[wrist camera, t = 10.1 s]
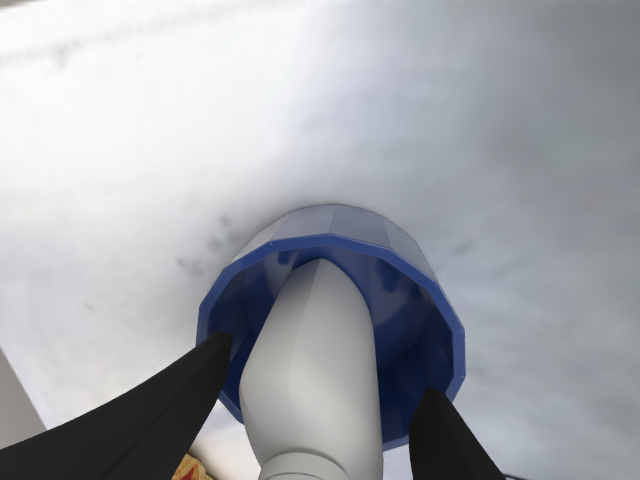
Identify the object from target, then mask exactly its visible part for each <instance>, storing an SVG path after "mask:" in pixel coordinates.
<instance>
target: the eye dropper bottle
mask: <svg viewBox="0 0 640 480" xmlns="http://www.w3.org/2000/svg"><path fill="white" fill-rule="evenodd" d="M239 397H240V406H241V412H242V417H243V421H244V425H245V429H246V433H247V436H248V439H249V442H250V444H251V447H252V449H253V452H254V454H255V456H256V459H257V461H258V463H259V465H260V466H261V468H262V469H261V471H260V474H259V478H258V480H382V479H383V446H382V430H381V417H380V404H379V391H378V379H377V366H376V354H375V342H374V331H373V325H372V320H371V316H370V312H369V309H368V307H367V304H366V302H365V300H364V298H363V296H362V294H361V293H360V291H359V289H358V288H357V287H356V285H355V284H354V283H353V281H352V280H351V279H350V278H349V277H348V276H347V275H346V274H345V273H344V272H343V271H342V270H341V269H340V268H339V267H337V266H336V265H335V264H333V263H332V262H330V261H329V260H327V259H323V258H319V259H314V260H312V261H310V262H308V263H306V264H304V265H302V266H300V267H298V268H296V269H294V270H292V271H291V272H290V273H289V274H288V276H287V278H286V280H285V282H284V284H283V286H282V288H281V290H280V292H279V294H278V297H277V299H276V301H275V303H274V305H273V307H272V309H271V311H270V313H269V315H268V317H267V319H266V322H265V324H264V326H263V328H262V330H261V332H260V334H259V336H258V338H257V341H256V343H255V345H254V347H253V349H252V351H251V354H250V356H249V358H248V361H247V363H246V365H245V367H244V370H243V373H242V377H241V381H240V385H239Z"/></svg>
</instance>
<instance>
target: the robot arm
mask: <svg viewBox="0 0 640 480" xmlns="http://www.w3.org/2000/svg"><path fill="white" fill-rule="evenodd" d="M232 342H233V335H231V334H228V333H224V332H220V331H216V332H215V333H213V334H212V335H211V336H209V337H208V338H207V339H205V340H204V341H203V342H201V343H200V344H199V345H197V346H196V347H195V348H193V349H192V350H191V351H189V352H188V353H187V354H185V355H184V356H182V357H181V358H179V359H178V360H177V361H175V362H174V363H172V364H171V365H169V366H168V367H166V368H165V369H163V370H162V371H160V372H159V373H157V374H156V375H154V376H152V377H151V378H149V379H148V380H146V381H144V382H143V383H141V384H140V385H138V386H136V387H134V388H133V389H131V390H129V391H128V392H126V393H124V394H122V395H120V396H119V397H117V398H115V399H113V400H111V401H109V402H107V403H106V404H104V405H102V406H100V407H98V408H96V409H94V410H91V411H89V412H87V413H85V414H83V415H81V416H79V417H77V418H75V419H73V420H71V421H69V422H66V423H64V424H62V425H60V426H57V427H55V428H53V429H50V430H48V431H46V432H43V433H41V434H38V435H36V436H34V437H31V438H29V439H26V440H24V441H21V442H19V443H16V444H14V445H11V446H8V447H6V448H3V449H1V450H0V480H171V479H172V478H173V476H174V474H175V472H176V470H177V468H178V467H179V465H180V463H181V462H182V460H183V458H184V457H185V455H186V453H187V451H188V450H189V448H190V446H191V445H192V443H193V441H194V440H195V438H196V436H197V434H198V433H199V431H200V429H201V428H202V426H203V424H204V423H205V421H206V419H207V417H208V416H209V414H210V412H211V410H212V409H213V407H214V405H215V403H216V401H217V399H218V397H219V395H220V392H221V390H222V388H223V386H224V383H225V381H226V379H227V375H228V368H229V362H230V355H231V349H232ZM408 437H409V453H410V462H411V468H412V474H413V480H515V479H512V478H507V477H504V475H503V474H502V473H501V472H500V470H499V469H498V468H497V466H496V465H495V464H494V462H493V461H492V460H491V458H490V457H489V456H488V454H487V453H486V451H485V450H484V449H483V447H482V446H481V445H480V443H479V442H478V440H477V439H476V438H475V436H474V435H473V433H472V432H471V430H470V429H469V428H468V426H467V425H466V423H465V422H464V420H463V419H462V417H461V416H460V415H459V413H458V412H457V410H456V409H455V407H454V406H453V404H452V403H451V402H450V400H449V399H448V397H447V396H446V394H445V393H444V392H443V391H440V390H436V389H432V388H429V387H426V389H425V391H424V393H423V395H422V398H421V400H420V402H419V404H418V406H417V408H416V411H415V413H414V415H413V417H412V419H411V422H410V424H409V426H408Z"/></svg>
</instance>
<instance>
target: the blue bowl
mask: <svg viewBox="0 0 640 480" xmlns="http://www.w3.org/2000/svg"><path fill="white" fill-rule="evenodd" d="M319 258H323V259H327V260H329V261H330V262H332V263H333V264H335V265H336V266H337V267H339V268H340V269H341V270H342V271H343V272H344V273H345V274H346V275H347V276H348V277H349V278H350V279H351V280H352V281H353V283H354V284H355V285H356V287H357V288H358V289H359V291H360V293H361V294H362V296H363V298H364V300H365V302H366V304H367V307H368V309H369V312H370V316H371V320H372V325H373V331H374V342H375V354H376V366H377V379H378V391H379V404H380V417H381V430H382V446H383V452H384V451H387V450H391V449H394V448H397V447H400V446H403V445H407V444H409V437H408V426H409V424H410V422H411V419H412V417H413V415H414V413H415V411H416V408H417V406H418V404H419V402H420V400H421V398H422V395H423V393H424V391H425V389H426V387H429V388H432V389H436V390H440V391H443V392H444V393H445V394H446V396H447V397H448V399H449V400H450V402H451V403H452V402H453V401H454V399H455V397H456V395H457V393H458V391H459V389H460V387H461V385H462V383H463V381H464V379H465V376H466V362H465V330H464V327H463V325H462V323H461V321H460V320H459V318H458V316H457V314H456V312H455V310H454V309H453V307H452V305H451V303H450V301H449V299H448V298H447V296H446V294H445V292H444V290H443V289H442V287H441V285H440V283H439V281H438V279H437V278H436V276H435V274H434V272H433V270H432V269H431V267H430V265H429V263H428V261H427V260H426V258H425V256H424V254H423V253H422V251H421V249H420V247H419V245H418V244H417V243H416V241H414V240H413V239H412V238H411V237H410V236H409V235H408V234H407V233H406V232H404V231H403V230H402V229H401V228H400V227H399V226H397V225H396V224H394V223H393V222H391V221H390V220H388V219H386V218H385V217H382V216H380V215H378V214H376V213H374V212H371V211H368V210H365V209H362V208H358V207H353V206H347V205H334V204H329V205H316V206H312V207H307V208H302V209H300V210H297V211H294V212H291V213H289V214H287V215H285V216H283V217H281V218H279V219H278V220H276V221H275V222H274V223H272V224H271V225H269V226H268V227H267V228H265V229H264V230H262V231H260V232H259V233H258V234H257V235H256V236H255V237H254V238H253V239H252V240H251V241H250V242H249V243H248V244H247V245H246V246H245V247H244V248H243V249H242V250H241V251H240V252H239V253H238V254H237V255H236V256H235V257H234V258H233V259H232V260H231V261H230V262H229V263H228V264H227V266H226V267H225V268H224V269H223V270H222V272H221V273H220V275H219V276H218V278H217V280H216V281H215V283H214V284H213V286H212V287H211V289H210V290H209V292H208V293H207V295H206V296H205V298H204V299H203V301H202V302H201V304H200V307H199V315H198V326H197V336H196V346H197V345H199V344H200V343H201V342H203V341H204V340H205V339H207V338H208V337H209V336H211V335H212V334H213V333H215V332H216V331H220V332H224V333H228V334H231V335H233V342H232V349H231V355H230V362H229V368H228V375H227V379H226V381H225V383H224V386H223V388H222V390H221V392H220V395H219V397H218V399H219V400H220V401H221V402H222V403H223V405H224V406H225V407H226V408H227V409H228V410H229V412H230V413H231V414H232V415H233V416H234V417H235V419H236V420H237V421H239V422H240V423H241V424H243V425H244V421H243V417H242V412H241V406H240V397H239V385H240V381H241V377H242V373H243V370H244V367H245V365H246V363H247V361H248V358H249V356H250V354H251V351H252V349H253V347H254V345H255V343H256V341H257V338H258V336H259V334H260V332H261V330H262V328H263V326H264V324H265V322H266V319H267V317H268V315H269V313H270V311H271V309H272V307H273V305H274V303H275V301H276V299H277V297H278V294H279V292H280V290H281V288H282V286H283V284H284V282H285V280H286V278H287V276H288V274H289V273H290V272H291V271H292V270H294V269H296V268H298V267H300V266H302V265H304V264H306V263H308V262H310V261H312V260H314V259H319ZM196 346H195V347H196Z"/></svg>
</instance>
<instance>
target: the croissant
mask: <svg viewBox="0 0 640 480" xmlns="http://www.w3.org/2000/svg"><path fill="white" fill-rule="evenodd" d="M205 472H206V469H205V468H204V466H203V465H202V464H201V462H200V461H199V460H197V459H196V458H192V457H191V456H190V455H188V454H187V453H186V455H185V457H184V458H183V460H182V462H181V463H180V465H179V467H178V468H177V470H176V472H175V474H174V476H173V478H172V479H171V480H214V479H213V478H212V477H211V476H208V475H206V473H205Z"/></svg>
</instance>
